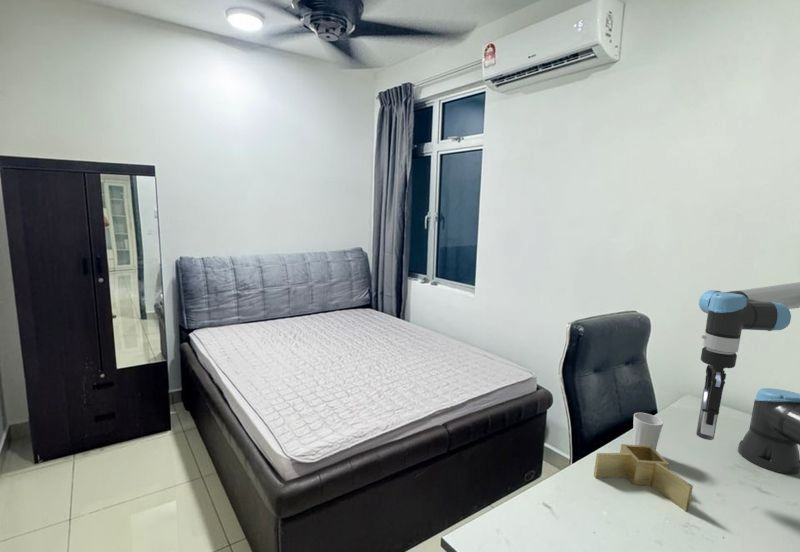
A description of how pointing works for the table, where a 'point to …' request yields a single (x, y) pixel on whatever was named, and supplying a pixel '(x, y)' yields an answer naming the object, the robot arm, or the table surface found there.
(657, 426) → the cup
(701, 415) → the pin
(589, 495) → the table surface
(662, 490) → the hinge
